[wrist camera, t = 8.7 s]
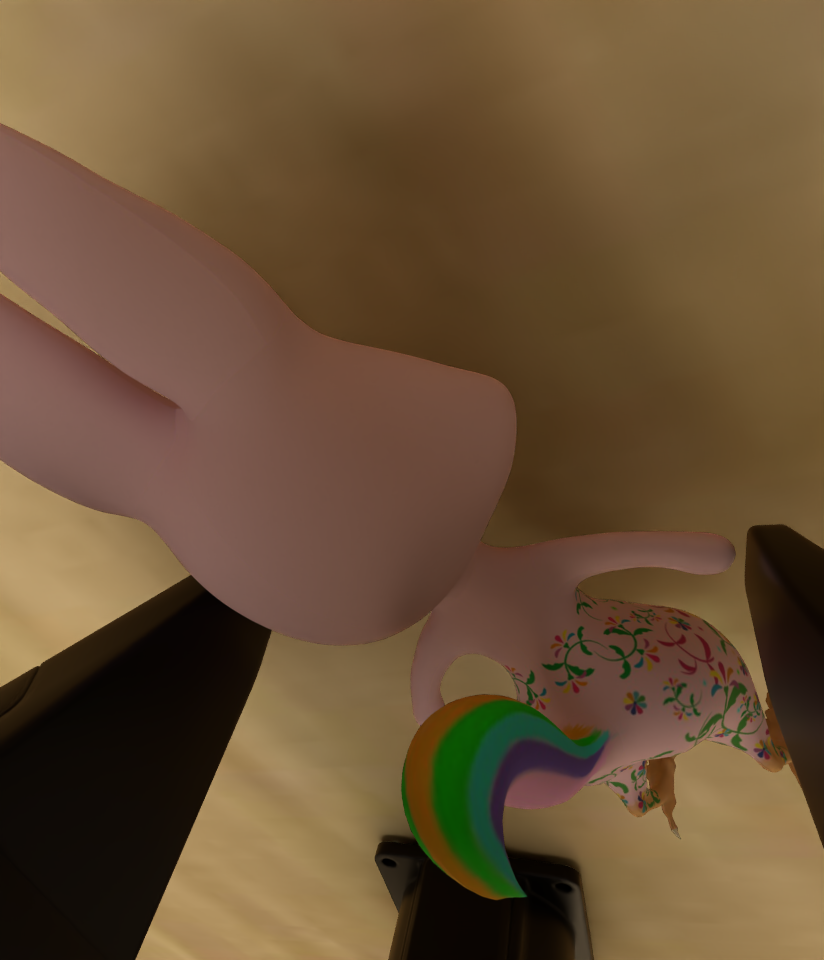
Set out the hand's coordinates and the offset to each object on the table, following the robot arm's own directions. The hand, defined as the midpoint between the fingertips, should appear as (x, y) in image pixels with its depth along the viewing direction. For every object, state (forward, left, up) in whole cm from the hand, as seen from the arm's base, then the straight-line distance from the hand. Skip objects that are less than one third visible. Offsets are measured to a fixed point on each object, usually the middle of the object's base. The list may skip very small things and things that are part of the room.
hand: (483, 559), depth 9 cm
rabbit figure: (+1, +1, -2) cm, 2 cm away
